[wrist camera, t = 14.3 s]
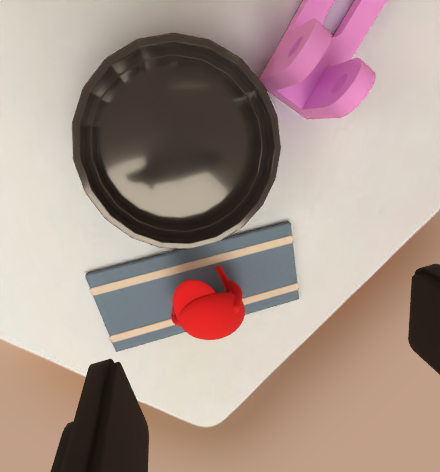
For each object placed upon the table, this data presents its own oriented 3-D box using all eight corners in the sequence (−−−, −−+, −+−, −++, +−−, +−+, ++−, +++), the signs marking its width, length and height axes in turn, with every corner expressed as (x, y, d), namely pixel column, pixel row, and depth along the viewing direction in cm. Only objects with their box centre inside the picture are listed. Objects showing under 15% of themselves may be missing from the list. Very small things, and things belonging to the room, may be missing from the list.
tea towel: (288, 221, 31) (291, 223, 30) (296, 296, 34) (299, 299, 33) (86, 273, 28) (84, 276, 28) (116, 348, 32) (116, 352, 31)
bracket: (306, 119, 27) (353, 117, 21) (257, 82, 26) (291, 68, 19) (395, -27, 25) (479, -80, 18) (347, -80, 23) (422, -159, 17)
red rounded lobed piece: (251, 283, 31) (272, 317, 26) (217, 326, 32) (229, 368, 27) (188, 243, 29) (196, 272, 23) (152, 292, 29) (151, 330, 24)
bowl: (248, 33, 24) (266, 16, 20) (272, 210, 30) (289, 223, 26) (55, 68, 23) (35, 56, 19) (118, 249, 28) (113, 269, 24)
